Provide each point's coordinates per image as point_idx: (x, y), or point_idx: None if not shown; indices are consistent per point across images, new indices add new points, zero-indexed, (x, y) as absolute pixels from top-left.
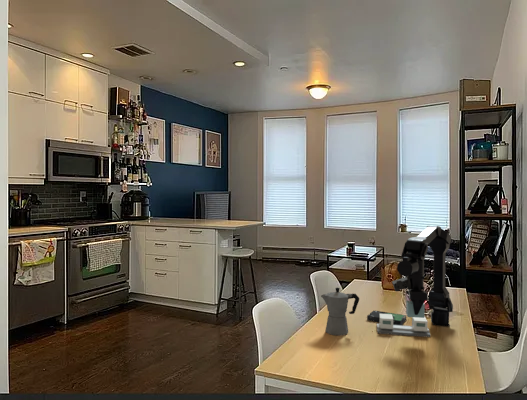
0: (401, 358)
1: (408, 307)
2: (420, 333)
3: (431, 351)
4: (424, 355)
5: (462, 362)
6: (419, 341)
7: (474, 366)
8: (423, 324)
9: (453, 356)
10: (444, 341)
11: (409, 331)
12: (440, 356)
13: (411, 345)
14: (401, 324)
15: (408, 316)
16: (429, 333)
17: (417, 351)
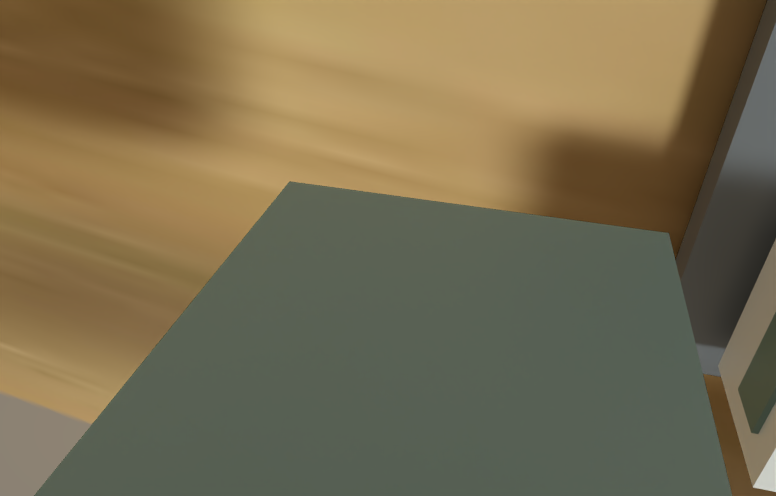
0: None
1: (131, 400)
2: (712, 270)
3: (176, 212)
4: (32, 113)
5: (38, 351)
6: (475, 179)
7: (7, 388)
8: (753, 400)
9: (131, 341)
10: None
11: None
12: (82, 248)
13: (296, 39)
14: None
15: (283, 206)
16: (704, 369)
17: (114, 67)
